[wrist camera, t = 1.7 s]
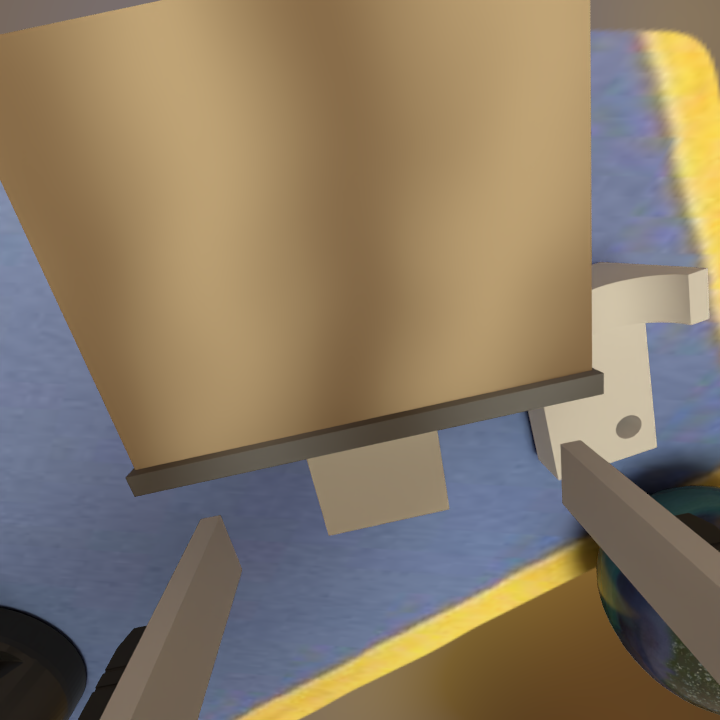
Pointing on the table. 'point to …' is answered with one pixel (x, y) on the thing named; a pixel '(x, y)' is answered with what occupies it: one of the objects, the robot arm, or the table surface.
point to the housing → (308, 218)
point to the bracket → (621, 360)
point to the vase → (644, 625)
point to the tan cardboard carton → (380, 483)
